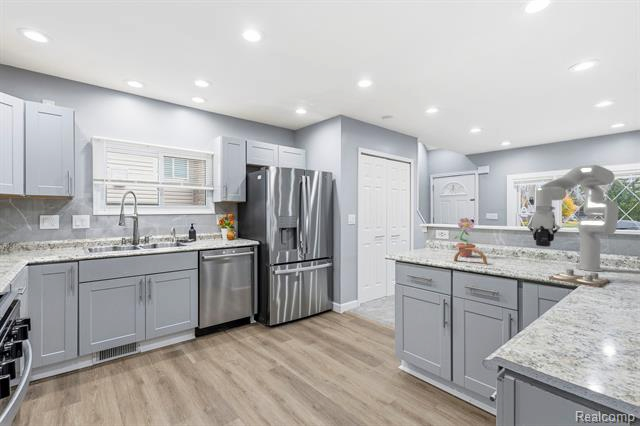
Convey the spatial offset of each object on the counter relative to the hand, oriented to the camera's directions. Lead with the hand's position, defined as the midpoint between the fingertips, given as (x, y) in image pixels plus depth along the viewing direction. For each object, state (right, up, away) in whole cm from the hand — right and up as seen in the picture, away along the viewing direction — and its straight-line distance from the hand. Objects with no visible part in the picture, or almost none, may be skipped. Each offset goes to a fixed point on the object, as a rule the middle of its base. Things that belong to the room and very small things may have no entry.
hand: (543, 240), depth 172 cm
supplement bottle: (0, -4, 0) cm, 4 cm away
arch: (-23, -19, +37) cm, 48 cm away
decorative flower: (-14, -19, +64) cm, 68 cm away
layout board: (+8, -20, -15) cm, 26 cm away
